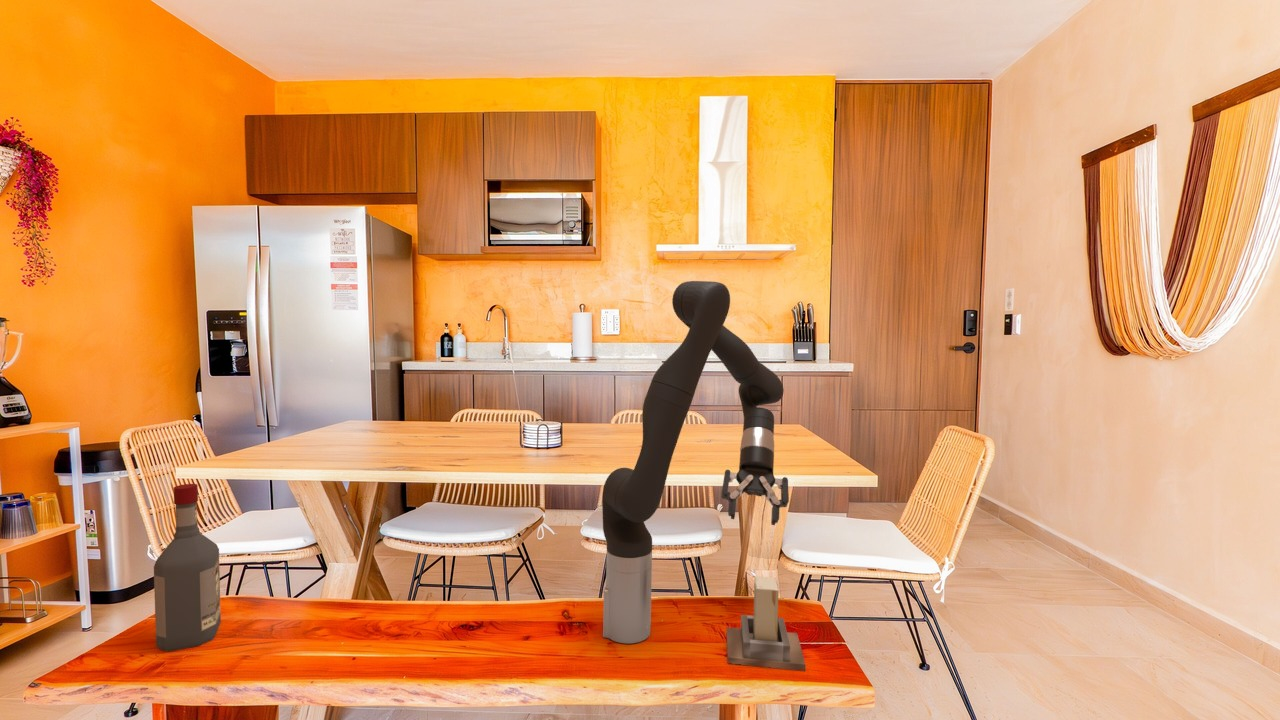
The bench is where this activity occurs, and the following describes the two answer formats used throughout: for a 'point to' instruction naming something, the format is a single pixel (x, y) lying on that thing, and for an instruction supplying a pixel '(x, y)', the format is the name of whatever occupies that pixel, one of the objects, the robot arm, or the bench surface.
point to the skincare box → (765, 609)
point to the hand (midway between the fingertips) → (753, 521)
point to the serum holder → (764, 647)
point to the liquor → (187, 581)
